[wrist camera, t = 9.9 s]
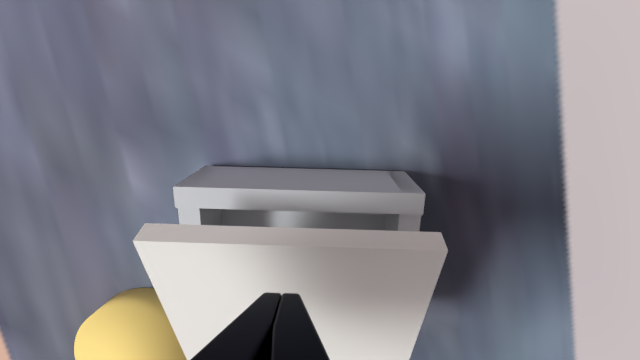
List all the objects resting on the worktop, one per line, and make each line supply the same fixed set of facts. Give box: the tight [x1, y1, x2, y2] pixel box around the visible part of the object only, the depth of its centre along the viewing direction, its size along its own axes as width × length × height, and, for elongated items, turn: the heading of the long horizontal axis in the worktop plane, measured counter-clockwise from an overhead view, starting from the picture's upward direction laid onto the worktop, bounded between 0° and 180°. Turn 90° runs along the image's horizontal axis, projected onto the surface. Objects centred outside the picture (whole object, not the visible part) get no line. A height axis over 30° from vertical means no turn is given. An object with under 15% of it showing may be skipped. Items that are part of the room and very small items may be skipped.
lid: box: [133, 223, 448, 360], centre depth 11 cm, size 7×9×1 cm
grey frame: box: [173, 166, 426, 232], centre depth 14 cm, size 7×9×3 cm
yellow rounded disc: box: [74, 288, 187, 360], centre depth 17 cm, size 6×6×2 cm
